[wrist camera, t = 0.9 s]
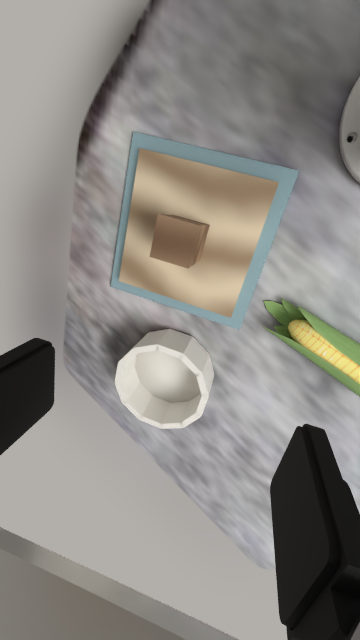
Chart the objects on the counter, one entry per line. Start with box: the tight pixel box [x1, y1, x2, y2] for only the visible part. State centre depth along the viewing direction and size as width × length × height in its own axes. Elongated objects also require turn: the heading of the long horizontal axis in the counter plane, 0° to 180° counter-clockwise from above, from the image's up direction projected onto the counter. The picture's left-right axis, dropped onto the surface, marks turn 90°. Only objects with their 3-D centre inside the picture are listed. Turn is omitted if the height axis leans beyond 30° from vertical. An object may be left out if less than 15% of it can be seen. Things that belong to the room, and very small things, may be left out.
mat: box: [111, 132, 299, 329], centre depth 31 cm, size 18×18×1 cm
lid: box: [119, 148, 279, 318], centre depth 28 cm, size 15×15×7 cm
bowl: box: [115, 329, 214, 429], centre depth 36 cm, size 12×12×6 cm
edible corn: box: [262, 298, 360, 396], centre depth 30 cm, size 5×20×5 cm, turn 59°
